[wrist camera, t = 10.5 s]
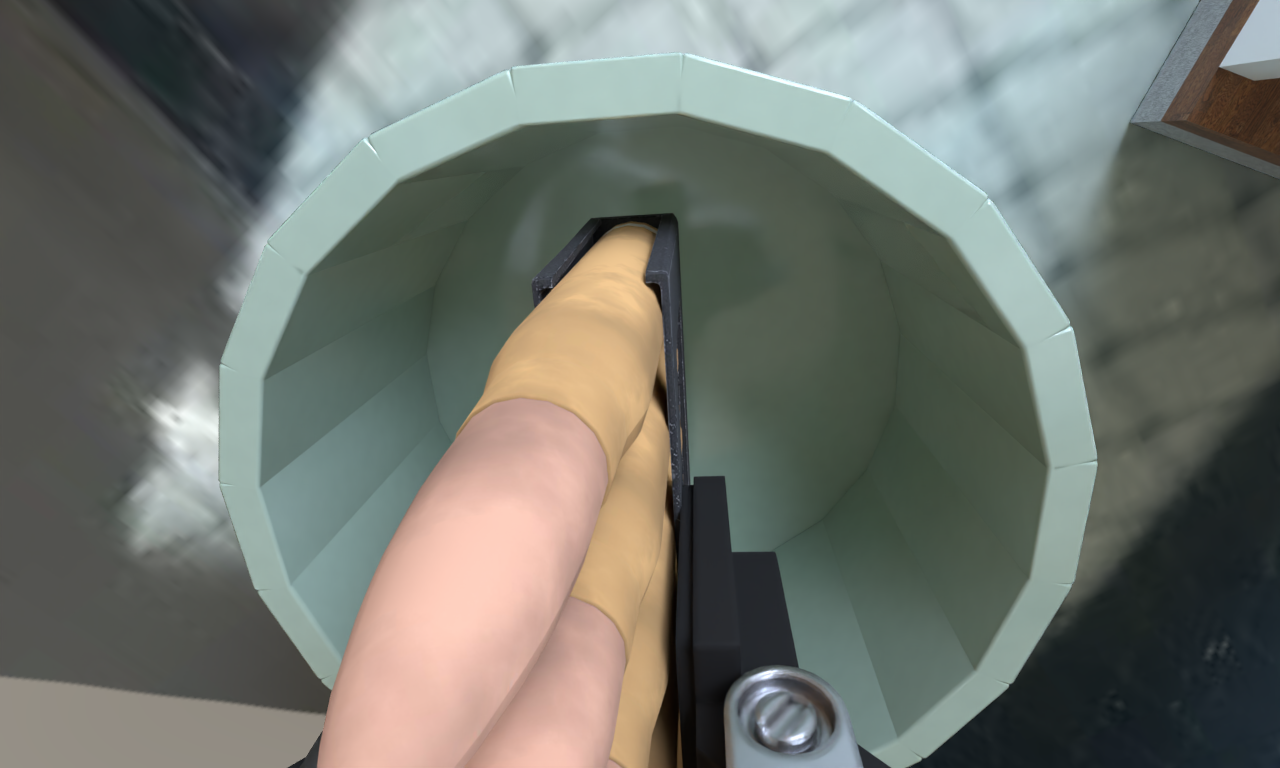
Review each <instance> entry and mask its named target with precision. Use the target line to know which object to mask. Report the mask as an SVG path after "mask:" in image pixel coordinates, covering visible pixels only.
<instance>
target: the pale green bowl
mask: <svg viewBox="0 0 1280 768" xmlns="http://www.w3.org/2000/svg"><path fill="white" fill-rule="evenodd" d="M987 198H988V196H987V194H986V193H985V192H984V191H983V190H981V189H980V188H978V187H977V186H976V185H974V184H973V183H971V182H970V181H969V180H967V179H966V178H964V177H963V176H962V175H960V174H959V173H957V172H956V171H955V170H953V169H952V168H950V167H949V166H948V165H946V164H945V163H944V162H942V161H941V160H939V159H938V158H937V157H935V156H934V155H932V154H931V153H930V152H928V151H927V150H925V149H924V148H923V147H921V146H920V145H918V144H917V143H916V142H914V141H913V140H911V139H910V138H909V137H907V136H906V135H904V134H903V133H902V132H900V131H899V130H898V129H896V128H895V127H893V126H892V125H891V124H889V123H888V122H886V121H885V120H884V119H882V118H881V117H879V116H878V115H877V114H875V113H874V112H872V111H871V110H870V109H868V108H867V107H865V106H864V105H863V104H861V103H860V102H858V101H856V100H852V101H851V98H850V97H849V96H845V95H841V94H837V93H834V92H830V91H826V90H823V89H819V88H815V87H812V86H808V85H804V84H800V83H797V82H793V81H789V80H786V79H782V78H778V77H775V76H771V75H767V74H764V73H760V72H756V71H752V70H749V69H745V68H741V67H738V66H734V65H730V64H727V63H723V62H719V61H716V60H712V59H708V58H704V57H701V56H697V55H693V54H690V53H685V54H684V55H683V54H682V53H681V52H672V53H661V54H649V55H638V56H626V57H615V58H603V59H592V60H580V61H569V62H557V63H546V64H535V65H523V66H513V67H512V68H511V70H503V71H501V72H499V73H497V74H495V75H493V76H491V77H489V78H487V79H484V80H482V81H480V82H478V83H476V84H474V85H472V86H470V87H468V88H466V89H464V90H461V91H459V92H457V93H455V94H453V95H451V96H449V97H447V98H445V99H443V100H441V101H438V102H436V103H434V104H432V105H430V106H428V107H426V108H424V109H422V110H420V111H418V112H415V113H413V114H411V115H409V116H407V117H405V118H403V119H401V120H399V121H397V122H395V123H392V124H390V125H388V126H386V127H384V128H382V129H380V130H378V131H376V132H374V133H372V134H371V135H370V136H369V137H368V138H363V139H362V140H361V141H360V142H359V143H358V144H357V145H356V146H355V147H354V148H353V149H352V150H351V151H350V153H349V154H348V155H347V156H346V157H345V158H344V159H343V160H342V161H341V162H340V163H339V164H338V165H337V166H336V168H335V169H334V170H333V171H332V172H331V173H330V174H329V175H328V176H327V177H326V178H325V179H324V180H323V181H322V183H321V184H320V185H319V186H318V187H317V188H316V189H315V190H314V191H313V192H312V193H311V194H310V195H309V196H308V198H307V199H306V200H305V201H304V202H303V203H302V204H301V205H300V206H299V207H298V208H297V209H296V210H295V211H294V213H293V214H292V215H291V216H290V217H289V218H288V219H287V220H286V221H285V222H284V223H283V224H282V225H281V227H280V228H279V229H278V230H277V231H276V232H275V233H274V234H273V235H272V236H271V237H270V238H269V239H268V242H267V243H268V244H267V245H266V246H265V247H264V250H263V252H262V255H261V258H260V260H259V263H258V265H257V268H256V270H255V273H254V276H253V278H252V281H251V283H250V286H249V288H248V291H247V294H246V296H245V299H244V301H243V304H242V306H241V309H240V312H239V314H238V317H237V319H236V322H235V324H234V327H233V330H232V332H231V335H230V337H229V340H228V342H227V345H226V348H225V350H224V353H223V355H222V358H221V363H222V364H221V365H220V366H219V482H220V489H221V492H222V495H223V498H224V501H225V504H226V507H227V510H228V513H229V516H230V519H231V522H232V525H233V528H234V531H235V533H236V536H237V539H238V542H239V545H240V548H241V551H242V554H243V557H244V560H245V563H246V566H247V569H248V572H249V575H250V578H251V581H252V584H253V587H254V589H255V590H258V595H259V596H260V598H261V599H262V600H263V602H264V603H265V605H266V606H267V607H268V609H269V610H270V612H271V613H272V615H273V616H274V617H275V619H276V620H277V622H278V623H279V624H280V626H281V627H282V629H283V630H284V631H285V633H286V634H287V636H288V637H289V638H290V640H291V641H292V643H293V644H294V645H295V647H296V648H297V650H298V651H299V652H300V654H301V655H302V657H303V658H304V659H305V661H306V662H307V664H308V665H309V667H310V668H311V669H312V671H313V672H314V674H315V675H316V676H317V678H319V679H322V681H321V682H322V683H323V684H324V685H325V686H326V687H327V688H328V689H330V690H331V691H332V689H333V686H334V683H335V680H336V677H337V674H338V671H339V668H340V665H341V662H342V659H343V656H344V653H345V650H346V647H347V644H348V640H349V637H350V634H351V631H352V628H353V625H354V622H355V619H356V617H357V614H358V612H359V609H360V607H361V604H362V602H363V599H364V597H365V594H366V592H367V589H368V587H369V585H370V582H371V580H372V578H373V576H374V573H375V571H376V569H377V567H378V564H379V562H380V560H381V558H382V556H383V554H384V552H385V550H386V548H387V546H388V545H389V543H390V541H391V539H392V537H393V535H394V534H395V532H396V530H397V528H398V526H399V524H400V523H401V521H402V519H403V517H404V515H405V513H406V512H407V510H408V508H409V506H410V505H411V503H412V501H413V500H414V498H415V496H416V494H417V493H418V491H419V489H420V488H421V486H422V485H423V484H424V482H425V481H426V479H427V478H428V476H429V475H430V473H431V472H432V470H433V469H434V468H435V466H436V465H437V463H438V462H439V461H440V459H441V458H442V457H443V455H444V454H445V453H446V451H447V450H448V448H449V447H450V446H451V445H452V443H453V442H454V441H455V438H456V433H457V432H458V430H459V429H460V427H461V426H462V424H463V423H464V422H465V420H466V419H467V417H468V416H469V414H470V413H471V411H472V410H473V408H474V407H475V406H476V404H477V403H478V401H479V400H480V398H481V397H482V395H483V393H484V389H485V385H486V382H487V378H488V375H489V371H490V368H491V366H492V363H493V360H494V359H495V358H496V356H497V355H498V353H499V352H500V350H501V349H502V347H503V346H504V344H505V343H506V341H507V340H508V338H509V337H510V336H511V334H512V333H513V332H514V330H515V329H516V328H517V327H518V326H519V325H520V324H521V323H522V322H523V321H524V320H525V319H526V318H527V316H528V315H529V314H530V313H531V312H532V311H533V310H534V301H533V293H532V285H531V284H532V279H533V278H534V277H535V276H536V275H537V274H538V273H539V272H540V271H541V270H542V269H543V268H544V267H545V266H546V265H547V264H548V263H549V262H550V261H551V260H552V259H553V258H554V257H555V256H556V255H557V254H558V253H559V252H560V251H561V250H562V249H563V248H564V247H565V246H566V245H567V244H568V243H569V242H570V241H571V239H572V238H573V237H574V236H575V235H576V234H577V233H578V232H579V231H580V229H581V228H582V227H583V226H584V225H585V224H586V223H587V222H588V221H589V220H590V218H599V217H615V216H630V215H646V214H662V213H673V214H674V215H675V216H676V218H677V221H678V228H679V250H680V271H681V292H682V313H683V335H684V356H685V377H686V398H687V420H688V441H689V462H690V484H691V485H694V477H695V476H725V482H726V493H727V504H728V515H729V526H730V537H731V548H732V552H775V553H776V555H777V559H778V564H779V570H780V575H781V580H782V585H783V590H784V595H785V600H786V605H787V610H788V615H789V620H790V625H791V630H792V635H793V640H794V645H795V650H796V655H797V660H798V665H799V668H801V669H803V670H806V671H809V672H812V673H814V674H816V675H817V676H819V677H820V678H822V679H823V680H825V681H826V682H828V683H829V684H830V685H831V686H832V687H833V688H834V689H835V690H836V691H837V692H838V694H839V695H840V696H841V697H842V699H843V701H844V703H845V706H846V708H847V710H848V712H849V716H850V719H851V723H852V727H853V730H854V734H855V738H856V742H857V744H858V745H860V746H861V747H863V748H864V749H865V750H867V751H868V752H870V753H871V754H873V755H874V756H875V757H877V758H878V759H880V760H881V761H882V762H884V763H885V764H887V765H888V766H890V767H891V768H907V767H910V766H912V765H914V764H916V763H918V762H920V761H921V760H922V758H924V759H925V758H927V757H928V756H930V755H931V754H932V753H933V752H934V751H935V750H937V749H938V748H939V747H940V746H941V745H942V744H944V743H945V742H946V741H947V740H948V739H949V738H951V737H952V736H953V735H954V734H955V733H956V732H958V731H959V730H960V729H961V728H962V727H963V726H965V725H966V724H967V723H968V722H969V721H970V720H972V719H973V718H974V717H975V716H976V715H977V714H979V713H980V712H981V711H982V710H983V709H985V708H986V707H987V706H988V705H989V704H990V703H992V702H993V701H994V700H995V699H996V698H997V697H999V696H1000V695H1001V694H1002V693H1003V692H1004V691H1006V690H1007V689H1008V688H1009V684H1012V683H1013V682H1014V680H1015V679H1016V677H1017V676H1018V674H1019V672H1020V671H1021V669H1022V667H1023V666H1024V664H1025V663H1026V661H1027V659H1028V658H1029V656H1030V655H1031V653H1032V651H1033V650H1034V648H1035V646H1036V645H1037V643H1038V642H1039V640H1040V638H1041V637H1042V635H1043V633H1044V632H1045V630H1046V629H1047V627H1048V625H1049V624H1050V622H1051V621H1052V619H1053V617H1054V616H1055V614H1056V612H1057V611H1058V609H1059V608H1060V606H1061V604H1062V603H1063V601H1064V599H1065V598H1066V596H1067V595H1068V593H1069V591H1070V590H1071V588H1072V584H1073V583H1074V581H1075V576H1076V572H1077V567H1078V562H1079V557H1080V552H1081V547H1082V542H1083V537H1084V532H1085V527H1086V522H1087V517H1088V512H1089V507H1090V502H1091V497H1092V493H1093V488H1094V483H1095V478H1096V473H1097V468H1098V462H1097V461H1096V460H1097V452H1096V446H1095V441H1094V436H1093V430H1092V425H1091V420H1090V414H1089V409H1088V404H1087V398H1086V393H1085V387H1084V382H1083V377H1082V371H1081V366H1080V361H1079V355H1078V350H1077V345H1076V339H1075V334H1074V329H1073V328H1072V327H1071V326H1070V321H1069V318H1068V317H1067V315H1066V314H1065V312H1064V311H1063V309H1062V307H1061V306H1060V304H1059V303H1058V301H1057V300H1056V298H1055V297H1054V295H1053V294H1052V292H1051V290H1050V289H1049V287H1048V286H1047V284H1046V283H1045V281H1044V280H1043V278H1042V277H1041V275H1040V273H1039V272H1038V270H1037V269H1036V267H1035V266H1034V264H1033V263H1032V261H1031V260H1030V258H1029V256H1028V255H1027V253H1026V252H1025V250H1024V249H1023V247H1022V246H1021V244H1020V242H1019V241H1018V239H1017V238H1016V236H1015V235H1014V233H1013V232H1012V230H1011V229H1010V227H1009V225H1008V224H1007V222H1006V221H1005V219H1004V218H1003V216H1002V215H1001V213H1000V212H999V210H998V208H997V207H996V205H995V204H994V202H993V201H992V200H990V199H987Z"/></svg>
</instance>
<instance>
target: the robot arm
mask: <svg viewBox="0 0 1280 768" xmlns="http://www.w3.org/2000/svg"><path fill="white" fill-rule="evenodd" d="M676 668H677V684H678V700H679V716H680V732H681V748H682V764H683V768H891V767H890V766H888V765H887V764H885V763H884V762H882V761H881V760H880V759H878V758H877V757H875V756H874V755H873V754H871V753H870V752H868V751H867V750H865V749H864V748H863V747H861V746H860V745H858V744H857V742H856V738H855V734H854V730H853V727H852V723H851V719H850V716H849V712H848V710H847V708H846V706H845V703H844V701H843V699H842V697H841V696H840V695H839V694H838V692H837V691H836V690H835V689H834V688H833V687H832V686H831V685H830V684H829V683H828V682H826V681H825V680H823V679H822V678H820V677H819V676H817V675H816V674H814V673H812V672H809V671H806V670H803V669H801V668H799V665H798V660H797V655H796V650H795V645H794V640H793V635H792V630H791V625H790V620H789V615H788V610H787V605H786V600H785V595H784V590H783V585H782V580H781V575H780V570H779V564H778V559H777V555H776V553H775V552H732V548H731V537H730V526H729V515H728V504H727V493H726V482H725V476H695V477H694V485H682V505H681V509H680V533H679V559H678V585H677V610H676ZM322 732H323V731H322ZM321 737H322V733H321V734H320V736H319V737H318V739H317V740H316V742H315V744H314V745H313V747H312V748H311V750H310V752H309V753H308V755H307V756H306V757H305V758H303V759H302V760H300V761H298V762H297V763H295V764H293V765H292V766H290V767H288V768H317V763H318V755H319V747H320V741H321Z"/></svg>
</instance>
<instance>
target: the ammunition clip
mask: <svg viewBox="0 0 1280 768" xmlns="http://www.w3.org/2000/svg"><path fill="white" fill-rule="evenodd" d="M531 285H532V293H533V301H534V310H533V311H532V312H531V313H530V314H529V315H528V316H527V318H526V319H525V320H524V321H523V322H522V323H521V324H520V325H519V326H518V327H517V328H516V329H515V330H514V332H513V333H512V334H511V336H510V337H509V338H508V340H507V341H506V343H505V344H504V346H503V347H502V349H501V350H500V352H499V353H498V355H497V356H496V358H495V359H494V360H493V363H492V366H491V368H490V371H489V375H488V378H487V382H486V385H485V389H484V393H483V395H482V397H481V398H480V400H479V401H478V403H477V404H476V406H475V407H474V408H473V410H472V411H471V413H470V414H469V416H468V417H467V419H466V420H465V422H464V423H463V424H462V426H461V427H460V429H459V430H458V432H457V433H456V438H455V441H454V442H453V443H452V445H451V446H450V447H449V448H448V450H447V451H446V453H445V454H444V455H443V457H442V458H441V459H440V461H439V462H438V463H437V465H436V466H435V468H434V469H433V470H432V472H431V473H430V475H429V476H428V478H427V479H426V481H425V482H424V484H423V485H422V486H421V488H420V489H419V491H418V493H417V494H416V496H415V498H414V500H413V501H412V503H411V505H410V506H409V508H408V510H407V512H406V513H405V515H404V517H403V519H402V521H401V523H400V524H399V526H398V528H397V530H396V532H395V534H394V535H393V537H392V539H391V541H390V543H389V545H388V546H387V548H386V550H385V552H384V554H383V556H382V558H381V560H380V562H379V564H378V567H377V569H376V571H375V573H374V576H373V578H372V580H371V582H370V585H369V587H368V589H367V592H366V594H365V597H364V599H363V602H362V604H361V607H360V609H359V612H358V614H357V617H356V619H355V622H354V625H353V628H352V631H351V634H350V637H349V640H348V644H347V647H346V650H345V653H344V656H343V659H342V662H341V665H340V668H339V671H338V674H337V677H336V680H335V683H334V686H333V689H332V692H331V696H330V700H329V705H328V709H327V714H326V719H325V723H324V728H323V732H322V737H321V741H320V747H319V755H318V763H317V768H683V764H682V748H681V732H680V716H679V700H678V684H677V668H676V610H677V585H678V559H679V533H680V509H681V505H682V485H691V484H690V462H689V441H688V420H687V398H686V377H685V356H684V335H683V313H682V292H681V271H680V250H679V228H678V221H677V218H676V216H675V215H674V214H673V213H662V214H646V215H630V216H615V217H599V218H590V220H589V221H588V222H587V223H586V224H585V225H584V226H583V227H582V228H581V229H580V231H579V232H578V233H577V234H576V235H575V236H574V237H573V238H572V239H571V241H570V242H569V243H568V244H567V245H566V246H565V247H564V248H563V249H562V250H561V251H560V252H559V253H558V254H557V255H556V256H555V257H554V258H553V259H552V260H551V261H550V262H549V263H548V264H547V265H546V266H545V267H544V268H543V269H542V270H541V271H540V272H539V273H538V274H537V275H536V276H535V277H534V278H533V279H532V284H531Z"/></svg>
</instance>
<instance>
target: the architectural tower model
mask: <svg viewBox="0 0 1280 768" xmlns="http://www.w3.org/2000/svg"><path fill="white" fill-rule="evenodd" d="M1130 123H1132V124H1135V125H1138V126H1140V127H1143V128H1146V129H1148V130H1151V131H1154V132H1156V133H1159V134H1161V135H1164V136H1167V137H1169V138H1172V139H1175V140H1177V141H1180V142H1183V143H1185V144H1188V145H1191V146H1193V147H1196V148H1198V149H1201V150H1204V151H1206V152H1209V153H1212V154H1214V155H1217V156H1220V157H1222V158H1225V159H1228V160H1230V161H1233V162H1235V163H1238V164H1241V165H1243V166H1246V167H1249V168H1251V169H1254V170H1257V171H1259V172H1262V173H1265V174H1267V175H1270V176H1272V177H1275V178H1278V179H1280V0H1201V1H1200V3H1199V4H1198V6H1197V8H1196V10H1195V11H1194V13H1193V15H1192V16H1191V18H1190V20H1189V22H1188V23H1187V25H1186V27H1185V29H1184V30H1183V32H1182V34H1181V35H1180V37H1179V39H1178V41H1177V42H1176V44H1175V46H1174V47H1173V49H1172V51H1171V53H1170V54H1169V56H1168V58H1167V60H1166V61H1165V63H1164V65H1163V66H1162V68H1161V70H1160V72H1159V73H1158V75H1157V77H1156V79H1155V80H1154V82H1153V84H1152V85H1151V87H1150V89H1149V91H1148V92H1147V94H1146V96H1145V97H1144V99H1143V101H1142V103H1141V104H1140V106H1139V108H1138V110H1137V111H1136V113H1135V115H1134V116H1133V118H1132V120H1131V122H1130Z"/></svg>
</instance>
